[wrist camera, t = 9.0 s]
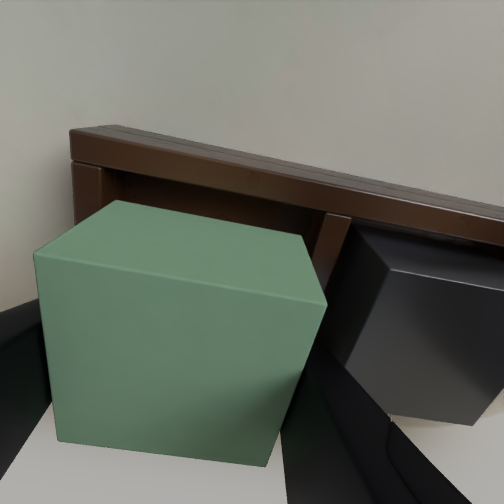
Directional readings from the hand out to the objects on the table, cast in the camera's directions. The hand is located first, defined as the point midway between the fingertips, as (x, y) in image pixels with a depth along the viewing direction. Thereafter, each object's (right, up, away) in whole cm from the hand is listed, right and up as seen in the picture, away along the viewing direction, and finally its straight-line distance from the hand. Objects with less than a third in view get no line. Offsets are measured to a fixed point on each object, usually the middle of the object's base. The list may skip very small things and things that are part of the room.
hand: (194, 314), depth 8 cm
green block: (0, 0, +1) cm, 1 cm away
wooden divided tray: (+3, +1, +4) cm, 5 cm away
